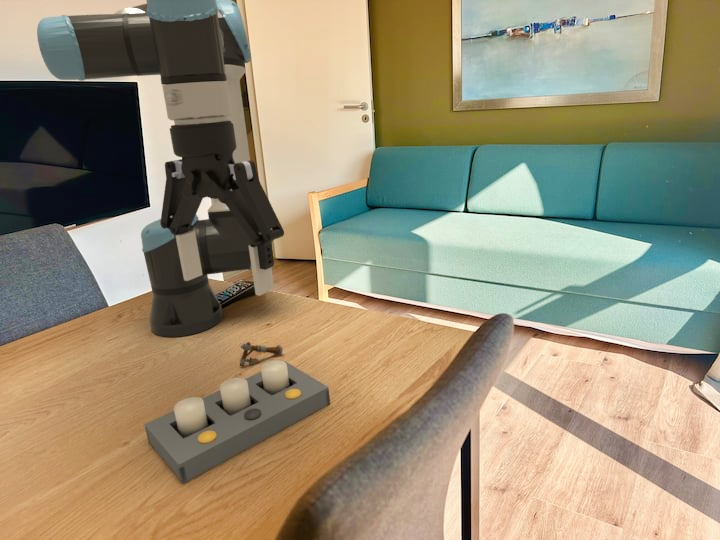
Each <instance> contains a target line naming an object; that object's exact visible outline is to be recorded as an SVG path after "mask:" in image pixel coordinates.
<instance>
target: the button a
mask: <svg viewBox="0 0 720 540" xmlns="http://www.w3.org/2000/svg"><path fill="white" fill-rule="evenodd" d="M173 411H174V412H175V417H176V422H177V426H178V431H177V432H178V434H179V435H180V436H181V437H182V438H183V437H184V438H186V437H188V436H190V435H192V434H194V433H196V432H198V431H200V430H202V429H204V428H206V427H208V426H209V423H208V422H209V421H208V418H207V417H206V412H205V407H204V401H203V400H202V397H198V396H191V397H187V398H186V397H185V398H184V399H180V401H178V402H177V403H176V404H174V406H173Z"/></svg>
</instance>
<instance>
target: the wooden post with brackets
mask: <svg viewBox="0 0 720 540" xmlns="http://www.w3.org/2000/svg"><path fill="white" fill-rule="evenodd" d="M240 348H241V349H242V350H243V353H242V356H241V358H240V360H239V361H240V362H239V366H240V367H245V366H244V365H245V363H246V362H247V363H249V365H252V364H253V365H257V364H258V363H260V361H259V359H258V358H256V357H255V358H253V357H251V356H250V357H249V355H250V354H251V353H252V352H256V353H263V354H266V353H269V354H275V355H276V356H277V357H278V358H279V357H282V354H283V350H284V347H282V346H281V345H280V344H277V345H276V346H273V347H267V346H265V345H264V346H262V345H257V344H256V345H253V344H251V343H250V341H248V342H246V343H243V344H241V345H240ZM247 357H249V358H247Z"/></svg>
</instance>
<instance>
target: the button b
mask: <svg viewBox="0 0 720 540" xmlns="http://www.w3.org/2000/svg"><path fill="white" fill-rule="evenodd" d="M219 390H220V391H221V397H222V402H223V408H224V409H223V410H224V411H225V412H226V413H227V414H228V415H229V416H231V415H233V414H235V413H237V412H239V411H241V410H243V409H245V408H247V407H249V406H251V405H252V403H251V402H252V401H251V398H250V395H249V389H248V383H247V380H246V378H243V377H233V378H228V379H226V380H225V381H223V382H222V383H221V384H220V385H219Z"/></svg>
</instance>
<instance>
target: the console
mask: <svg viewBox="0 0 720 540" xmlns="http://www.w3.org/2000/svg"><path fill="white" fill-rule="evenodd" d="M283 361H284V360H283ZM284 362H285V363H286V364H287V370H288V378H289V383H291V384H292V385H289V386H290V387H288V388H286V389H284V390H282V391H280V392H278V393H276V394H274V395H270V394H268V393H267V392H266V391H264V386H263V379H262V372H261V371H260V372H258V373H255V374H252V375H251V376H249V377H247V378H245V379H246V380H247V383H248V389H249V395H250V400H252V401H254V402H255V403H254V404H251V406H249V407H247V408H245V409H243V410H241V411H239V412H237V413H235V414H233V415H229V414H227V413H226V412H225V411H224V408H223V402H222V397H221V391H220V389H219V390H217V391H215V392H213V393H211V394H209V395H207V396H204V397H201V399H202V400H203V401H204V407H205V412H206V417H207V420H209V421H210V422H211V423H212V424H211V425H208V427H206V428H204V429H202V430H200V431H198V432H196V433H194V434H192V435H190V436H188V437H184V438H183V436H181V435H180V434H179V431H178V426H177V422H176V417H175V412H174V410H172V411H171V412H168V413H166V414H164V415H162V416H160V417H157V418H154V419H152V420H151V421H148V422H146V423H144V429H145V432H146V437H147V440H148V443H149V444H150V446H151V447H152V448H153V449H154V450H155V451H156V453H157V454H158V455H159V456H160V458H161V459H162V460H163V461H164V462H165V464H166V466H168V467H169V468H170V469H171V471H172V472H173V473H174V475H175V476H176V477H177V478H178V479H179V481H180V482H181V483H182V484H183V485H184V484H185V483H187V482H189V481H191V480H193V479H194V478H196V477H199V476H201V475H202V474H204V473H205V472H208V471H210V470H211V469H214V468H215V467H217V466H219V465H221V464H222V463H224V462H226V461H227V460H228V461H229V460H230V459H232V458H233V457H235V456H237V455H239V454H241V453H243V452H245V451H247V450H248V449H250V448H251V447H254V446H255V445H257V444H258V443H261V442H263V441H264V440H266V439H268V438H270V437H272V436H274V435H276V434H277V433H279V432H281V431H283V430H284V429H287V428H288V427H290V426H292V425H294V424H296V423H297V422H300V421H301V420H303V419H305V418H307V417H309V416H311V415H313V414H314V413H316V412H318V411H319V410H322V409H323V408H325V407H327V406H329V405H331V400H330V399H331V398H330V390H329V389H330V388H329V386H328V385H326V384H325V383H322V382H321V381H319V380H317V379H316V378H314V377H312V376H311V375H309V374H307V373H306V372H304V371H303V370H301V369H299V368H298V367H296V366H294V365H292V364H291V363H289V362H287V361H284Z"/></svg>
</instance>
